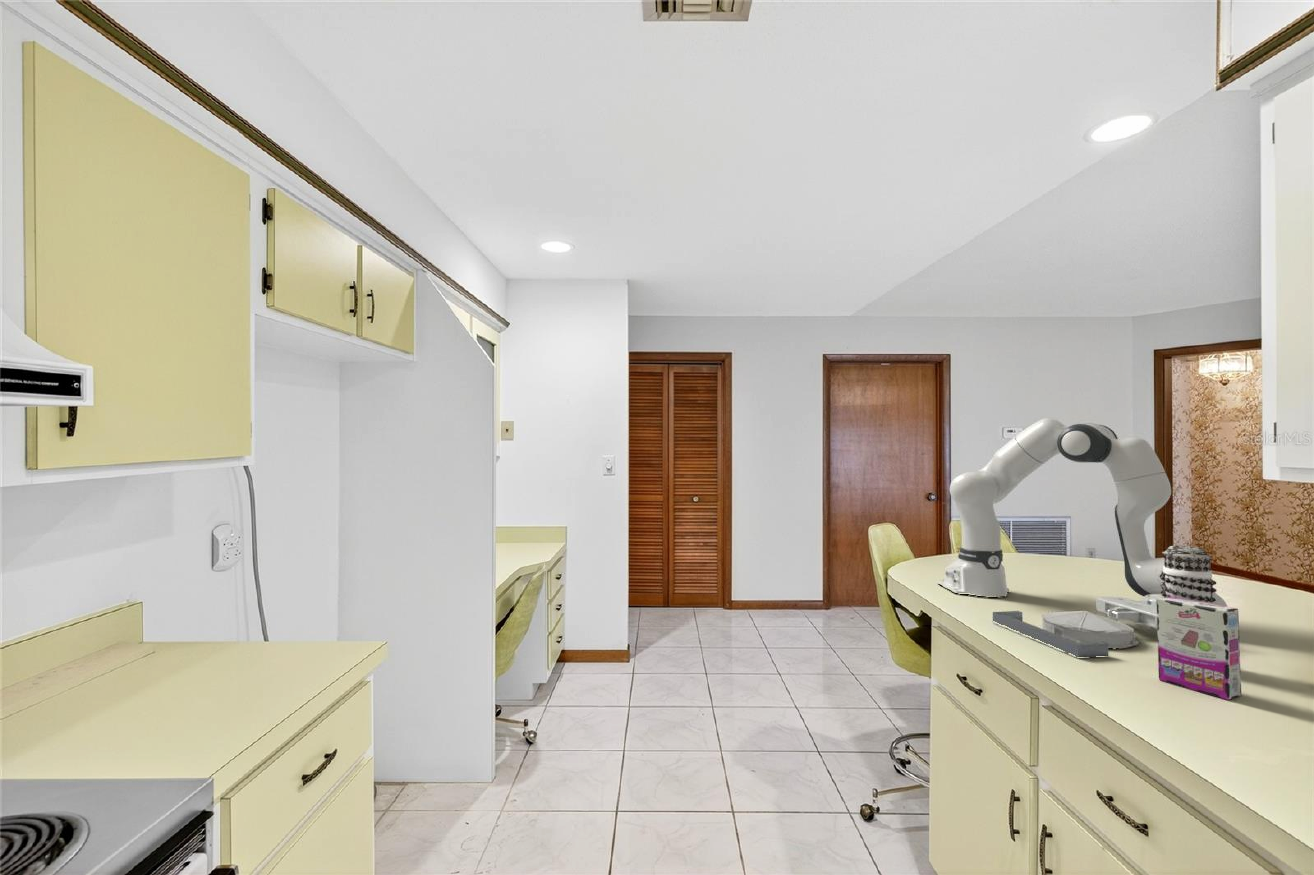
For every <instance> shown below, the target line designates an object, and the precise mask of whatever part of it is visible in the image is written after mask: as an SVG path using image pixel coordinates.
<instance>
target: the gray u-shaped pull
mask: <svg viewBox="0 0 1314 875" xmlns="http://www.w3.org/2000/svg"><path fill="white" fill-rule="evenodd" d="M993 621H995V622H997V623H999V624H1001V625H1005V626H1007V627H1009V628H1011V629H1013V630H1016V631H1019V632H1020V633H1022V634H1025V635H1028V636H1031V637H1032V638H1034V639H1038V640H1040V641H1042V642H1044V643H1046V644H1050V645H1052V646H1054V647H1056V648H1059V649H1061V650H1063V651H1065V652H1067V653H1071V654H1073V655H1075V656H1076V657H1096V656H1110V655H1109V649H1108V643H1105V642H1103V641H1100V642H1083V643H1078V642H1075V641H1073V640H1070V639H1067V638H1065V637H1062V636H1060V635H1057V634H1054V633H1052V632H1049V631H1047V630H1044V629H1041V628H1040V626H1039V627H1038V626H1037V625H1033V624H1031V623H1028V622H1025V621H1024V620H1023V612H1022V611H1019V610H1007V611H993V612H992V622H993Z"/></svg>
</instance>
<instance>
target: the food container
mask: <svg viewBox="0 0 1314 875" xmlns="http://www.w3.org/2000/svg"><path fill="white" fill-rule="evenodd" d="M1041 618H1042V625H1041V626H1042V629H1044V630H1047V631H1049V632H1052V633H1054V634H1057V635H1060V636H1062V637H1065V638H1067V639H1070V640H1073V641H1075V642H1078V643H1083V642H1100V641H1103V642H1105V643H1108V648H1115V649H1116V648H1119V649H1127V648H1130V647H1135V646H1137V645H1138V644H1139V641H1138V640H1137V638H1136V635H1135V629H1134V628H1133V627H1132V626H1130V625H1127V624H1126V623H1123V622H1120V621H1117V620H1116V619H1113V618H1110V617H1108V616H1103V615H1100V614H1097V613H1095V612H1091V611H1089V610H1088V611H1087V610H1079V611H1077V610H1076V611H1074V610H1073V611H1059V612H1058V611H1055V612H1054V611H1048V612H1045V613H1042V614H1041Z"/></svg>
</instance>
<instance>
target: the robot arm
mask: <svg viewBox="0 0 1314 875" xmlns="http://www.w3.org/2000/svg"><path fill="white" fill-rule="evenodd" d="M1059 454H1061V455H1062V456H1063V457H1064V458H1066V459H1067V460H1069V461H1072V462H1075V463H1097V464H1098V463H1101V464H1104V465H1105V466H1106V467H1107V468H1108V470H1109V472H1110V474H1111V476H1112V479H1113V481H1114V485H1115V488H1116V492H1117V504H1116V505H1115V507H1114V517H1115V519H1114V520H1115V524H1116V528H1117V533H1118V537H1119V541H1120V542H1119V544H1120V546H1121V550H1122V556H1123V561H1124V578H1125V581H1126V583H1127V585H1128V586H1129V587H1130V588H1131V589H1132V590H1133V592H1135V593H1136V594H1138V595H1140V596H1141V597H1142V598H1141V600H1140V601H1138V600H1133V599H1129V598H1126V597H1119V596H1097V598H1096V600H1095V601H1096V602H1095V608H1096V610H1097V611H1098V612H1100V613H1104V614H1107V618H1111V619H1114V620H1118V621H1123V620H1124V621H1129V622H1133V623H1136V624H1139V625H1142V626H1145V627H1149V628H1150V629H1152V630H1154V631H1157V602H1156V601H1157V599H1159V598H1164V596H1162V595H1161V591H1162V590H1163V589H1162V587H1161V586H1160V585H1161V583H1162V582H1164V581H1163V580H1161V579H1160V577H1159V575H1160V574H1161V571H1163V566H1164V557H1156V558H1155V557H1153V556H1151V554H1150V549H1149V546H1148V542H1147V536H1146V532H1145V523H1146V521H1147V520H1148V518H1149V517H1150V516H1151V515H1153V514H1154V513H1155V512H1158V511H1159V510H1160V509H1162V508H1163V507H1164V506H1165V505H1166V504H1167V502H1168V501H1169V499H1170V497H1171V495H1172V487H1171V483H1170V479H1169V477H1168V475H1167V473H1166V471H1165V468H1164V466H1163V464H1162V462H1161V461H1160V458H1159V457H1158V455H1157V454H1156V451H1155V450H1154V449H1153V447H1152V446H1151V444H1150V443H1149V442H1148V441H1147V440H1146V439H1144V438H1141V437H1135V436H1130V437H1122V438H1118V436H1117V434H1116V433H1115V431H1114V430H1112V429H1111V428H1110V427H1109V426H1106V425H1103V424H1098V423H1092V422H1090V423H1088V422H1087V423H1076V424H1075V423H1074V424H1072V425H1070V426H1069V425H1068V427H1067V426H1066V425H1064V424H1063V423H1062V422H1060V421H1059V420H1057V419H1054V418H1051V417H1046V418H1045V417H1044V418H1041V419H1040V420H1038V421H1036V422H1035V423H1033V424H1031V425H1029V426H1027V427H1026V428H1024V429H1023V430H1022V431H1020V432H1019V433H1018V434H1016V435H1015V436H1013V438H1011V439H1009V441H1008V442H1006V443H1005V444H1004V445H1003V446H1002V447H1000V448H999V449H998V450H997V451H995V453H994V454H993V456H992V458H991V459H990V460H989V461H988V463H987V464H986V465H984V467H982V468H981V469H978V470H977V471H967V472H964V473H961V474H959V475H957V476H956V477H954V479H953V480H952V481H951V482H950V485H949V494H950V497H951V498H952V499H953V500H954V502H955V504H956V508H957V511H958V516H959V520H960V526H961V527H960V528H961V529H960V530H961V547H959V548H956V552H958V555H957V559H955V560H954V561H953V562H952V563H950V564H949V565H948V566H946V568H945V569H944V570H945V571H944V579H941V580H937V581H936V583H937V582H938V583H939V584H942V585H944V586H945V587H947V588H948V589H951V590H953V591H954V592H957V593H970V594H975V595H981V596H993V597H994V596H996V597H998V596H1005V595H1007V594H1008V593H1007V592H1009V591H1010V588H1008V586H1007V577H1006V570H1005V567H1004V565H1003V563H1002V562H1003V560H1004V559H1003V557H1004V554H1003V549H1002V548H1001V547H1002V546H1001V541H1002V540H1001V539H1002V538H1001V524H1000V522H999V521H998V519H997V516H996V513H995V512H996V511H995V508H994V505H995V504H997V503H999V502H1001V501H1002V500H1004V499H1005V498H1006V497H1007V496H1008V495H1009V494H1010V493H1011V492H1012V491H1013V490H1014V489H1015V488H1016V487H1017V486H1018V485H1019V484H1020V483H1021V482H1023V480H1024V479H1026V478H1027V477H1028V476H1030V475H1031V474H1032V473H1033V472H1035V471H1037V469H1038V468H1040V467H1041V466H1043V465H1044V464H1045V463H1046V462H1048V461H1049V460H1051V459H1052V458H1053V457H1055V456H1056V455H1059ZM1211 579H1212V578H1210V580H1211ZM1213 586H1214V585H1213ZM1213 586H1211V585H1210V587H1213ZM1213 588H1214V587H1213ZM1009 593H1010V592H1009ZM1007 596H1008V595H1007ZM1005 597H1006V596H1005ZM1211 597H1213V598H1215V599H1216V601H1215V602H1211V604H1215V605H1220V606H1225V607H1228V605H1227V603H1226V601H1225V600H1224V599H1223V598H1222V597H1221V595H1219V594H1218V593H1217V592H1214V593H1213V592H1212V593H1211ZM998 598H999V597H998Z"/></svg>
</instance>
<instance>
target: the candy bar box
mask: <svg viewBox="0 0 1314 875" xmlns="http://www.w3.org/2000/svg"><path fill="white" fill-rule="evenodd" d="M1156 602H1157V630H1156V631H1157V658H1158V659H1157V660H1158V661H1157V662H1158V664H1157V665H1158V666H1157V667H1158V668H1157V669H1158V680H1159V681H1161V680H1163V681H1162V682H1164V681H1165V682H1164V683H1167V682H1169V683H1168V684H1171V685H1174V686H1177V685H1179V686H1178V687H1181V686H1182V687H1181V688H1184V687H1185V689H1188V690H1192V691H1196V692H1199V693H1201V694H1206V695H1208V696H1213V697H1216V698H1220V699H1222V700H1223V699H1224V700H1226V701H1231V700H1234V699H1236V698H1240V697H1241V696H1242V679H1241V677H1242V676H1241V652H1240V650H1241V649H1240V647H1241V646H1240V624H1239V618H1240V617H1239V608H1236V607H1230V606H1227V607H1225V606H1220V605H1215V604H1209V603H1203V602H1197V601H1192V600H1186V599H1180V598H1174V597H1164V598H1159V599H1157V601H1156Z"/></svg>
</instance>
